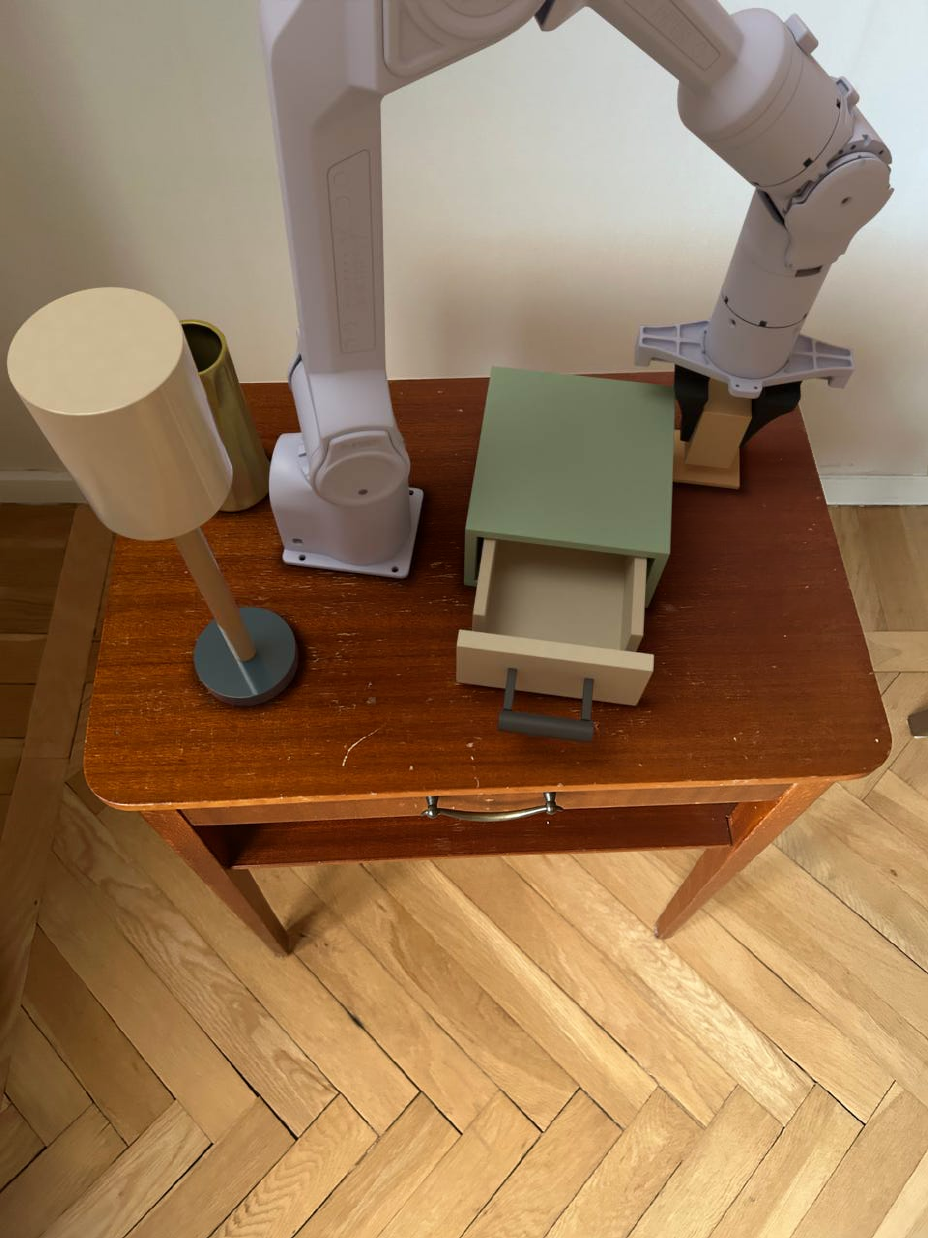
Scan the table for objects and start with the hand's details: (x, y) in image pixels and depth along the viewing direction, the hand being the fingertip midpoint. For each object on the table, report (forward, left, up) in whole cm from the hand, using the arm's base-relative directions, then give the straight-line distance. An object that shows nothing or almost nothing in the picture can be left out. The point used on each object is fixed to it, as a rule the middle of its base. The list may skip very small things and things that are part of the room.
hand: (710, 434), depth 68 cm
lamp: (-32, -23, -3) cm, 39 cm away
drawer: (-11, -18, -2) cm, 21 cm away
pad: (0, 0, -3) cm, 3 cm away
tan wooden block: (0, 0, -1) cm, 1 cm away
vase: (-37, -8, -3) cm, 37 cm away
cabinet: (-11, -7, -3) cm, 13 cm away
